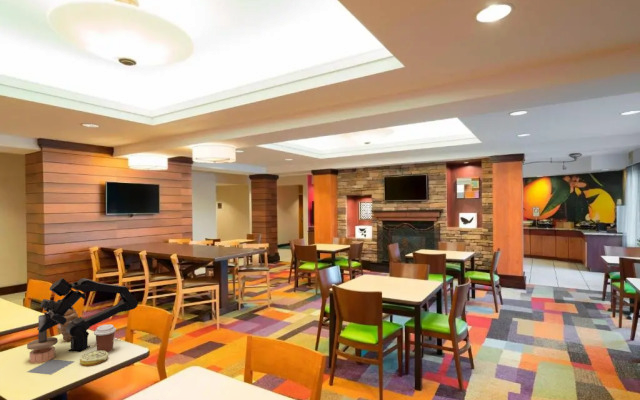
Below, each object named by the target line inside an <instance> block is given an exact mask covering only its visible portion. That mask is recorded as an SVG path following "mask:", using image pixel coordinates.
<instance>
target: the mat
mask: <svg viewBox="0 0 640 400" xmlns="http://www.w3.org/2000/svg"><path fill="white" fill-rule="evenodd" d="M73 363H75V361H74V360H66V359H65V360H64V359H63V360H62V359H54V358H52V359H51V360H48V361H45V362H42V364H40V365H38V366H35V367H34V368H32V369H30V370H28V371H26V373H32V374H41V375H53V374H55V373H57V372H59V371H61V370H62V369H64V368H65V367H68V366H69V365H72V364H73Z"/></svg>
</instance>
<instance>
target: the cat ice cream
mask: <svg viewBox="0 0 640 400" xmlns="http://www.w3.org/2000/svg"><path fill="white" fill-rule="evenodd" d="M64 315H65V316H64V317H65V318H66V319H67V322H66V323H65V324H64V325H62V324H59V326H60V331H61V335H62V339H63V340H64V341H65V342H71V337H73V336H71V335H70V334H69V333H68V332H67V331H66V327H67V325H68V324H69V323H70V322H72V320H75V319H77V318H79V314H78V313H77V310H76V309H75V308H74V306H72V309H71V310H70V309H69V310H68V311H67V312H66V313H65V314H64Z"/></svg>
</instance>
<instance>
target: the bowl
mask: <svg viewBox="0 0 640 400" xmlns="http://www.w3.org/2000/svg"><path fill="white" fill-rule="evenodd" d="M55 356H56V347H55V346H54V345H53V346H50V347H47V348H43V349H37V350H31V351H30V352H29V363H31V364H40V363H45V362H47V361H50V360H52V359H54V358H55Z"/></svg>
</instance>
